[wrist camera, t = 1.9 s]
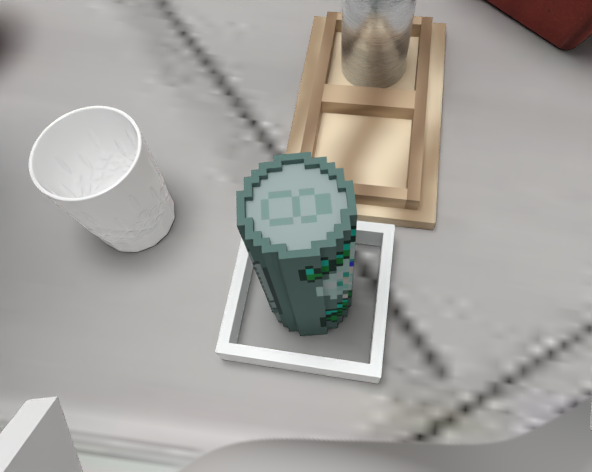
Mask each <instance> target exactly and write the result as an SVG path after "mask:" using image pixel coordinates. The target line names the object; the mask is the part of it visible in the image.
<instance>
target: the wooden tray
mask: <svg viewBox="0 0 592 472" xmlns="http://www.w3.org/2000/svg"><path fill="white" fill-rule="evenodd" d="M432 19H433V17H416V16H414V18H413V25H412V31H411V37H410V43H409V49H408V55H407V61H406V67H405V72H404V74H403V76H402V77H401V79H400V80H399V81H398V82H397V83H395V84H394V85H392V86H390V87H388V88H375V87H362V86H354V85H353V84H351V83H350V82H349V81H347V79H346V78H345V77H344V75H343V73H342V69H341V28H342V12H327V17H318V16H314V21H313V26H312V31H311V35H310V40H309V45H308V50H307V55H306V60H305V64H304V69H303V74H302V79H301V84H300V88H299V93H298V98H297V103H296V108H295V112H294V117H293V122H292V127H291V132H290V136H289V141H288V146H287V151H286V154H292V153H302V152H311V158H316V157H326V156H327V163H330V162H335V167H336V168H343V169H344V177H345V181H349V180H353V185H354V193H355V200H356V208H357V221H366V222H375V223H384V224H393V225H395V226H402V227H411V228H420V229H429V230H433V228H434V226H435V221H436V203H437V184H438V166H439V148H440V129H441V111H442V92H443V74H444V56H445V37H446V24H445V23H432Z"/></svg>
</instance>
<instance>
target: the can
mask: <svg viewBox="0 0 592 472" xmlns="http://www.w3.org/2000/svg"><path fill="white" fill-rule="evenodd" d="M273 159H274V162H264V163H259V169H258V170H251V177H244V191H236V196H237V227H238V230H239V232H240V235H241V237H242V239H243V242H244V244H245V247H246V249H247V252H248V254H249V256H250V259H251V261H252V264H253V266H254V268H255V271H256V273H257V276H258V278H259V281H260V283H261V285H262V288H263V290H264V293H265V295H266V298H267V300H268V302H269V305H270V307H271V310H272V312H274V313H275V315H276V318H277V320H278V322H282V323H283V326H284V327H288V329H289V332H291V331H299V333H300V336H306V335H319V334H327V328H337V322H342V317H346V316H347V306H351V298H352V284H353V270H354V256H355V242H356V228H357V208H356V200H355V193H354V185H353V180H349V181H345V177H344V169H343V168H336V167H335V162H330V163H327V156H326V157H316V158H311V152H302V153H292V154H282V155H273Z"/></svg>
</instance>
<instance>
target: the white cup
mask: <svg viewBox="0 0 592 472" xmlns="http://www.w3.org/2000/svg"><path fill="white" fill-rule="evenodd" d="M29 172H30V176H31V178H32V181H33V182H34V184H35V185H36V187H37V188H38V189H39V190H40V191H41V192H43V193H44V194H45V195H46V196H47V197H49V198H50V199H51V200H52V201H53V202H55V203H56V204H57V205H58V206H59V207H61V208H62V209H63V210H64V211H65V212H66V213H68V214H69V215H70V216H71V217H72V218H74V219H75V220H76V221H77V222H78V223H80V224H81V225H82V226H84V227H85V228H86V229H88V230H89V231H90V232H91V233H93V234H94V235H95V236H97V237H99V238H100V239H101V240H102V241H104V242H105V243H106V244H108V245H109V246H111V247H113V248H115V249H117V250H118V251H123V252H139V251H141V250H144V249H147V248H149V247H152V246H154V245H156V244H157V243H158V242H159V241H160V240H161V239H162V238H163V237H164V236H165V235H167V234H168V232H169V230H170V227H171V225H172V223H173V221H174V218H175V214H174V202H173V200H172V198H171V196H170V194H169V192H168V190H167V188H166V184H165V181H164V179H163V177H162V175H161V173H160V170H159V168H158V166H157V164H156V162H155V160H154V158H153V156H152V154H151V152H150V150H149V148H148V146H147V144H146V142H145V140H144V138H143V136H142V134H141V132H140V130H139V128H138V126H137V124H136V123H135V121H134V120H133V119H132V118H131V117H130V116H129V115H128V114H126V113H124V112H123V111H121V110H118V109H116V108H112V107H107V106H89V107H83V108H79V109H76V110H73V111H71V112H68V113H66V114H64V115H62V116H61V117H59V118H58V119H56V120H55V121H53V122H52V123H51V124H50V125H48V126H47V127H46V128H45V129H44V130H43V132H42V133H41V134H40V135H39V137H38V138H37V140H36V141H35V143H34V145H33V147H32V150H31V153H30V157H29Z"/></svg>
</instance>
